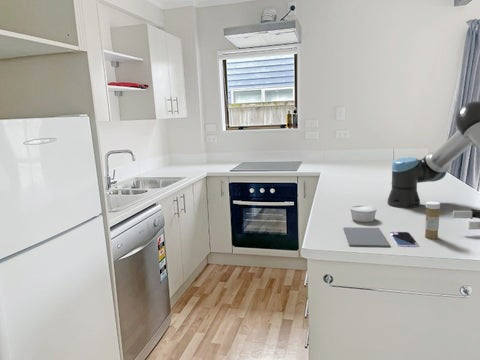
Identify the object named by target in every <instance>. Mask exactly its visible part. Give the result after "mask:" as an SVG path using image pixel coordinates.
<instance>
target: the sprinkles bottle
mask: <svg viewBox="0 0 480 360" xmlns="http://www.w3.org/2000/svg"><path fill="white" fill-rule="evenodd" d="M425 208H426V210H425V224H424V225H425V227H424V228H425V231H424V233H425V234H424V237H425V238H426V239H432V240H435V239H438V238H439V229H440V227H439V226H440V209H441V203H440V202H439V201H438V202H437V201H426V202H425Z"/></svg>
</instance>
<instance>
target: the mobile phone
mask: <svg viewBox="0 0 480 360" xmlns="http://www.w3.org/2000/svg"><path fill="white" fill-rule="evenodd" d="M388 234H389V237H390V238H391V239H392V241H393V243H394V244H395V245H396V246H397V247H405V248H407V247H408V248H412V247H413V248H418V247H420V244H419V242H418V241H416V240H415V237H413V236H412V234H411V233H410V232H407V231H390V232H388Z"/></svg>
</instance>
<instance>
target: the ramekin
mask: <svg viewBox="0 0 480 360" xmlns="http://www.w3.org/2000/svg"><path fill="white" fill-rule="evenodd" d="M349 209H350V215H351V218H352V220H353V221H354V222H358V223H370V222H371V223H372V222H373V221H374V220H375V219H376V213H377V208H376V207H374V206H371V205H361V204H360V205H352V206H350V208H349Z"/></svg>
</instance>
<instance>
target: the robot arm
mask: <svg viewBox="0 0 480 360" xmlns="http://www.w3.org/2000/svg"><path fill="white" fill-rule="evenodd" d="M455 124H456V128H457V131H456V132H454V134H453V135H452V136H451V137H449V138H448V139H447V140H446V141H445V142H444V143H443V144H442V145H441V146H439V147H438V148H437V149H436V150H435V151H434V152H428V153H427V154H426V155H425V156H424V157H423V158H421V159H418V158H417V157H401V158H397V159H395V160H394V161H392V162H393V163H392V168H391V190H390V192H389V195H388V198H387V205H389V206H391V207H395V208H403V209H408V208H409V209H410V208H417V207H419V206H421V199H420V195H419V193H418V184H419V183H427V182H429V183H430V182H432V183H433V182H437V181H440V180H442V179H444V178H445V177H446V175H447V173H448V172H447V171H448V170H449V169H448V168H449V166H450V164H451V163H452V162H454V161H455V160H456V159H457V158H458V157H459V156H460V155H462V154H464V152H466V151H467V150H468V149H469V148H470V147H471V146H474V147H475V148H476V149H477V151H478V152H479V153H480V101H478V100H477V101H476V100H475V101H471V102H467V103H466V104H464V105H462V106H461V107H459V110H457V113H456V116H455ZM452 218H453V219H470V220H469V221H468V228H467V229H468V230H480V221H479V220H476V221H475V220H472V219H473V218H474V219H480V209H475V208H471V209H470V210H452Z"/></svg>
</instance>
